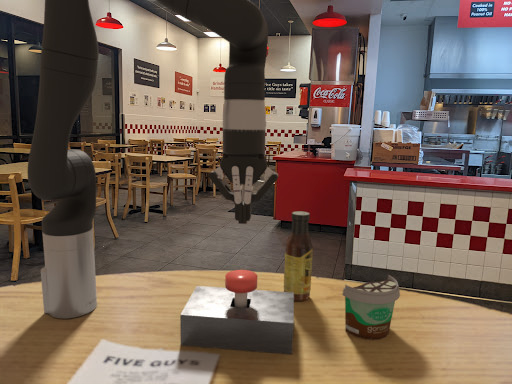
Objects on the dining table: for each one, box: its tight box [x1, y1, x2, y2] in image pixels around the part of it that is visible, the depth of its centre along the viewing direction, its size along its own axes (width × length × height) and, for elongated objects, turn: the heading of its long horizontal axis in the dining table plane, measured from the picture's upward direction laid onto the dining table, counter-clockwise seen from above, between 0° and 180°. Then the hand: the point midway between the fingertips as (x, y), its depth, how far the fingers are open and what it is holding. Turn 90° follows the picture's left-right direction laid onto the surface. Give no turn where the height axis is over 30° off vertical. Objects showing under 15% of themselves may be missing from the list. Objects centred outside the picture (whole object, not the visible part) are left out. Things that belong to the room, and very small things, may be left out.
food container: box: [342, 274, 401, 341], centre depth 75 cm, size 12×6×10 cm, turn 117°
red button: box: [224, 269, 258, 308], centre depth 73 cm, size 6×6×7 cm
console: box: [179, 285, 295, 355], centre depth 74 cm, size 20×12×6 cm, turn 85°
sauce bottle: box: [283, 211, 314, 302], centre depth 89 cm, size 7×6×20 cm
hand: (243, 222), depth 71 cm, fingers closed
